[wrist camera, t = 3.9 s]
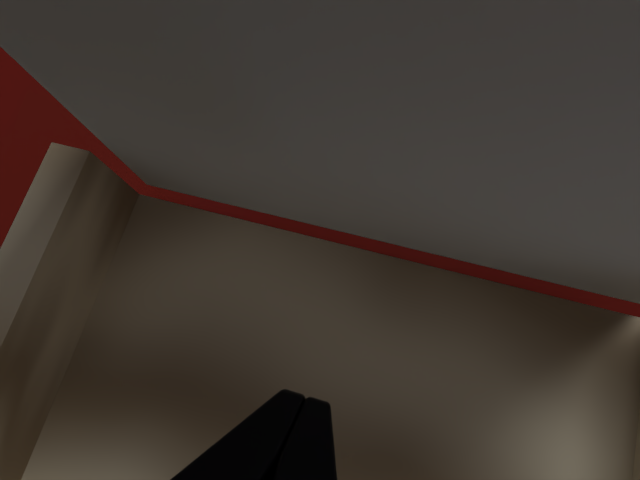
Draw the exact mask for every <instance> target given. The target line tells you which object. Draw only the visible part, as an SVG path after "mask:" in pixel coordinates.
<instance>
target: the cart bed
mask: <svg viewBox="0 0 640 480" xmlns="http://www.w3.org/2000/svg"><path fill="white" fill-rule="evenodd" d="M282 389H288V390H291V391H294V392H298V393H301V394H303V395H304V396H305V398H307V397H314V398H317V399H320V400H324V401H327V402H329V403H330V406H331V414H332V425H333V436H334V447H335V458H336V469H337V480H640V318H639V317H635V316H630V315H626V314H622V313H618V312H614V311H610V310H606V309H602V308H598V307H594V306H590V305H586V304H582V303H578V302H574V301H570V300H566V299H562V298H557V297H553V296H549V295H545V294H541V293H537V292H533V291H529V290H525V289H521V288H517V287H513V286H509V285H505V284H501V283H497V282H493V281H489V280H485V279H480V278H476V277H472V276H468V275H464V274H460V273H456V272H452V271H448V270H444V269H440V268H436V267H432V266H428V265H424V264H420V263H416V262H412V261H407V260H403V259H399V258H395V257H391V256H387V255H383V254H379V253H375V252H371V251H367V250H363V249H359V248H355V247H351V246H347V245H343V244H339V243H335V242H330V241H326V240H322V239H318V238H314V237H310V236H306V235H302V234H298V233H294V232H290V231H286V230H282V229H278V228H274V227H270V226H266V225H262V224H257V223H253V222H249V221H245V220H241V219H237V218H233V217H229V216H225V215H221V214H217V213H213V212H209V211H205V210H201V209H197V208H193V207H189V206H185V205H180V204H176V203H172V202H168V201H164V200H160V199H156V198H152V197H148V196H144V195H140V194H138V193H137V192H136V191H135V190H134V189H133V188H131V187H130V186H129V185H128V184H127V183H126V182H125V181H123V180H122V179H121V178H120V177H119V176H118V175H116V174H115V173H114V172H113V171H112V170H111V169H110V168H108V167H107V166H106V165H105V164H104V163H103V162H102V161H100V160H99V159H98V158H97V157H96V156H95V155H93V154H92V153H91V152H90V151H86V150H82V149H78V148H73V147H69V146H65V145H61V144H56V143H51V145H50V147H49V149H48V151H47V153H46V155H45V157H44V159H43V162H42V164H41V166H40V168H39V170H38V172H37V174H36V176H35V178H34V180H33V182H32V184H31V186H30V189H29V191H28V193H27V195H26V197H25V199H24V201H23V203H22V205H21V207H20V209H19V211H18V213H17V216H16V218H15V220H14V222H13V224H12V226H11V228H10V230H9V232H8V234H7V236H6V238H5V240H4V243H3V245H2V247H1V249H0V480H170V479H171V478H173V477H174V476H175V475H176V474H178V473H179V472H180V471H181V470H183V469H184V468H185V467H186V466H187V465H189V464H190V463H191V462H192V461H194V460H195V459H196V458H197V457H199V456H200V455H201V454H202V453H204V452H205V451H206V450H207V449H208V448H210V447H211V446H212V445H213V444H215V443H216V442H217V441H218V440H220V439H221V438H222V437H223V436H225V435H226V434H227V433H228V432H229V431H231V430H232V429H233V428H234V427H236V426H237V425H238V424H239V423H241V422H242V421H243V420H244V419H245V418H247V417H248V416H249V415H250V414H252V413H253V412H254V411H255V410H257V409H258V408H259V407H260V406H262V405H263V404H264V403H265V402H266V401H268V400H269V399H270V398H271V397H273V396H274V395H275V394H276V393H278V392H279V391H280V390H282Z"/></svg>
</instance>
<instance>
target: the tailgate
mask: <svg viewBox="0 0 640 480" xmlns="http://www.w3.org/2000/svg"><path fill="white" fill-rule="evenodd" d="M0 46H1V47H2V48H3V49H4V50H5V51H6V52H7V53H8V54H9V55H10V56H11V57H12V58H13V59H14V60H15V61H17V62H18V63H19V64H20V65H21V66H22V67H23V68H24V69H25V70H26V71H27V72H28V73H29V74H30V75H31V76H32V77H33V78H35V79H36V80H37V81H38V82H39V83H40V84H41V85H42V86H43V87H44V88H45V89H46V90H47V91H48V92H49V93H50V94H52V95H53V96H54V97H55V98H56V99H57V100H58V101H59V102H60V103H61V104H62V105H63V106H64V107H65V108H66V109H67V110H68V111H70V112H71V113H72V114H73V115H74V116H75V117H76V118H77V119H78V120H79V121H80V122H81V123H82V124H83V125H84V126H85V127H87V128H88V129H89V130H90V131H91V132H92V133H93V134H94V135H95V136H96V137H97V138H98V139H99V140H100V141H101V142H102V143H104V144H105V145H106V146H107V147H108V148H109V149H110V150H111V151H112V152H113V153H114V154H115V155H116V156H117V157H118V158H119V159H120V160H122V161H123V162H124V163H125V164H126V165H127V166H128V167H129V168H130V169H131V170H132V171H133V172H134V173H135V174H136V175H137V176H139V177H140V178H141V179H142V180H143V181H144V182H145V183H146V184H147V185H151V186H155V187H160V188H164V189H168V190H172V191H176V192H180V193H184V194H188V195H193V196H197V197H201V198H205V199H209V200H213V201H217V202H222V203H226V204H230V205H234V206H238V207H242V208H246V209H250V210H255V211H259V212H263V213H267V214H271V215H275V216H279V217H284V218H288V219H292V220H296V221H300V222H304V223H308V224H312V225H317V226H321V227H325V228H329V229H333V230H337V231H341V232H346V233H350V234H354V235H358V236H362V237H366V238H370V239H374V240H379V241H383V242H387V243H391V244H395V245H399V246H403V247H407V248H412V249H416V250H420V251H424V252H428V253H432V254H436V255H441V256H445V257H449V258H453V259H457V260H461V261H465V262H469V263H474V264H478V265H482V266H486V267H490V268H494V269H498V270H503V271H507V272H511V273H515V274H519V275H523V276H527V277H531V278H536V279H540V280H544V281H548V282H552V283H556V284H560V285H565V286H569V287H573V288H577V289H581V290H585V291H589V292H593V293H598V294H602V295H606V296H610V297H614V298H618V299H622V300H626V301H631V302H635V303H639V304H640V0H0Z"/></svg>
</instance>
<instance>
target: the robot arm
mask: <svg viewBox="0 0 640 480" xmlns="http://www.w3.org/2000/svg"><path fill="white" fill-rule="evenodd" d="M170 480H337V469H336V458H335V447H334V436H333V425H332V414H331V406H330V403H329V402H327V401H324V400H320V399H317V398H314V397H307V398H305V396H304V395H303V394H301V393H298V392H294V391H291V390H288V389H282V390H280V391H279V392H278V393H276V394H275V395H274V396H273V397H271V398H270V399H269V400H268V401H266V402H265V403H264V404H263V405H262V406H260V407H259V408H258V409H257V410H255V411H254V412H253V413H252V414H250V415H249V416H248V417H247V418H245V419H244V420H243V421H242V422H241V423H239V424H238V425H237V426H236V427H234V428H233V429H232V430H231V431H229V432H228V433H227V434H226V435H225V436H223V437H222V438H221V439H220V440H218V441H217V442H216V443H215V444H213V445H212V446H211V447H210V448H208V449H207V450H206V451H205V452H204V453H202V454H201V455H200V456H199V457H197V458H196V459H195V460H194V461H192V462H191V463H190V464H189V465H187V466H186V467H185V468H184V469H183V470H181V471H180V472H179V473H178V474H176V475H175V476H174V477H173V478H171V479H170Z"/></svg>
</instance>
